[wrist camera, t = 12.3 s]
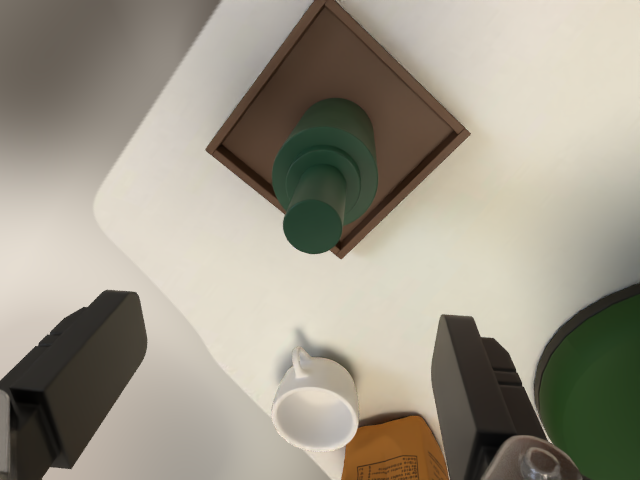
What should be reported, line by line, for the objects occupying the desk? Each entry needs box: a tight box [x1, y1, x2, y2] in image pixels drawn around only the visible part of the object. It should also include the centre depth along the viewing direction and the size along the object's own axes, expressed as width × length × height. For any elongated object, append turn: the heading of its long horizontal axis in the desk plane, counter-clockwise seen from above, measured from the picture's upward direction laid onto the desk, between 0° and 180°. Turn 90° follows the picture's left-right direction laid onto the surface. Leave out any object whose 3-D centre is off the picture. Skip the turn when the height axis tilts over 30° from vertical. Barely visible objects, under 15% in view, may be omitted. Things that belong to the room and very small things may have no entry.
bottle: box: [272, 98, 378, 254], centre depth 24 cm, size 6×6×16 cm
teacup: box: [272, 347, 359, 452], centre depth 40 cm, size 10×8×5 cm
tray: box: [205, 0, 471, 259], centre depth 31 cm, size 13×13×2 cm
